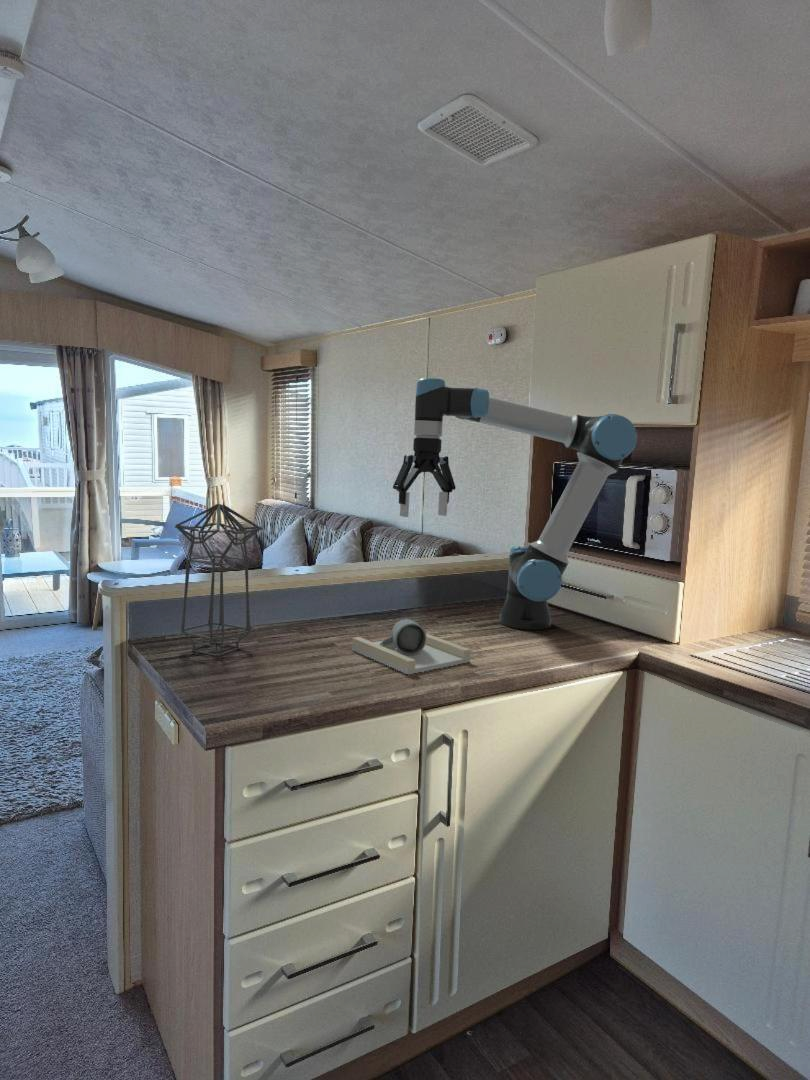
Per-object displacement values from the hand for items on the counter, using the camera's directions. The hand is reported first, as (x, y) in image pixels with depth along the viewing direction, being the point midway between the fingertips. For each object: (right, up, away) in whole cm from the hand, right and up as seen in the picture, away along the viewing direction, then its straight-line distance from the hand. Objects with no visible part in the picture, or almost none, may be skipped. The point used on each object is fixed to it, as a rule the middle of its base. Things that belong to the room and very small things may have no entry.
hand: (423, 516), depth 196 cm
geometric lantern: (-50, -33, -23) cm, 64 cm away
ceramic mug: (-6, -34, -22) cm, 40 cm away
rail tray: (-4, -35, -22) cm, 41 cm away
